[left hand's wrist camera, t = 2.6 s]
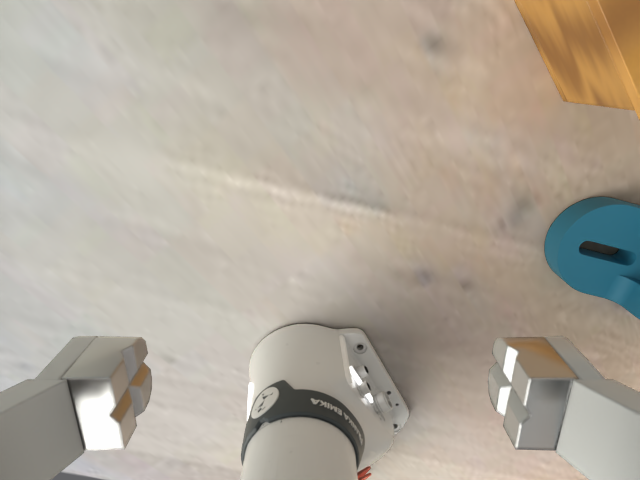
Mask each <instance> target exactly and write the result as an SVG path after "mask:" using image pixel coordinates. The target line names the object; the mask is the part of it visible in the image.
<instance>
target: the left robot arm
mask: <svg viewBox="0 0 640 480" xmlns="http://www.w3.org/2000/svg"><path fill="white" fill-rule="evenodd" d="M359 344H361V345H363V346H361V347H358V346H357V345H359ZM147 354H148V351H147V346H146V341H145V340H144V339H143V338H142V337H108V336H100V337H98V336H78V337H74V338H72V339H71V340H70V342H69V343H68V344H67V345H66V346H65V347H64V348H63V349H62V350H61V351H60V352H59V353H58V354H57V356H56V357H55V358H54V359H53V360H52V361H51V362H50V363H49V364H48V365H47V366H46V367H45V368H44V370H43V371H42V372H41V373H40V374H39V375H38V376H37V377H36V378H35V379H27V380H25V381H23V382H21V383H19V384H17V385H15V386H12V387H10V388H8V389H6V390H4V391H2V392H0V480H51V479H52V478H54V477H55V476H56V475H57V474H59V473H60V472H61V471H62V470H63V469H65V468H66V467H67V466H68V465H70V464H71V463H72V462H73V461H75V460H76V459H77V458H78V457H79V456H81V455H82V454H83V453H84V450H118V449H125V448H126V446H127V444H128V442H129V440H130V438H131V436H132V434H133V432H134V430H135V428H136V426H137V424H136V418H135V417H136V416H138V415H139V414H141V413H142V412H144V411H145V409H146V407H147V404H148V402H149V399H150V395H151V390H152V376H151V369H150V368H149V367H148V366H147V365H146V364H145V363H144V362H143V361H144V359H145V357H146V356H147ZM492 354H493V356H494V357H495V359H496V361H497V362H496V363H495V364H494V365H493V366H492V367H491V368H490V369H489V377H488V388H489V396H490V399H491V402H492V405H493V407H494V409H495V411H496V412H498V413H499V414H501V415H502V416H504V417H505V419H504V424H503V426H504V428H505V430H506V432H507V434H508V436H509V438H510V440H511V442H512V444H513V446H514V447H515V449H520V450H556V453H557V454H558V455H560V456H561V457H562V458H563V459H564V460H566V461H567V462H568V463H569V464H571V465H572V466H573V467H574V468H575V469H577V470H578V471H579V472H580V473H582V474H583V475H584V476H585V477H586V478H588V479H589V480H640V392H638V391H636V390H634V389H632V388H630V387H628V386H625V385H623V384H621V383H619V382H617V381H615V380H613V379H605V378H604V377H603V376H602V375H601V374H600V373H599V372H598V371H597V370H596V368H595V367H594V366H593V365H592V364H591V363H590V362H589V361H588V360H587V359H586V358H585V357H584V355H583V354H582V353H581V352H580V351H579V350H578V349H577V348H576V347H575V346H574V345H573V344H572V343H571V341H570V340H569V339H568V338H566V337H563V336H545V337H514V338H496V340H495V342H494V345H493V351H492ZM249 377H250V383H249V392H248V413H247V424H246V428H245V433H244V439H243V444H242V452H241V460H242V465H243V467H242V472H241V477H240V480H365V479H367V478H368V477H369V476H371V473H368V474H366V473H367V472H368V471H369V470H370V468H371V467H370V466H371V465H372V464H374V463H375V462H376V461H378V460H379V459H380V458H381V457H383V456H384V455H385V454H386V453H387V451H388V450H389V449H390V447H391V446H392V444H393V441H394V437H395V435H396V434H397V433H398V432H399V431H400V430H401V429H402V427H403V426H404V425H405V423H406V421H407V419H408V417H409V409H408V407H407V405H406V403H405V401H404V399H403V398H402V396H401V394H400V393H399V391H398V389H397V387H396V386H395V384H394V382H393V381H392V379H391V377H390V376H389V374H388V372H387V370H386V369H385V367H384V365H383V364H382V362H381V360H380V358H379V357H378V355H377V353H376V352H375V350H374V348H373V346H372V345H371V343H370V341H369V340H368V338H367V336H366V334H365V333H364V332H363V331H362V330H361V329H358V328H345V329H332V328H328V327H324V326H320V325H314V324H296V325H290V326H286V327H283V328H280V329H278V330H276V331H274V332H272V333H271V334H269V335H268V336H266V337H265V338H264V339H263V340H262V341H261V342H260V343H259V344H258V345H257V347H256V348H255V350H254V352H253V354H252V356H251V359H250V364H249ZM393 424H395V425H393ZM365 474H366V475H365Z"/></svg>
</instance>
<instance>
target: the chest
mask: <svg viewBox="0 0 640 480" xmlns="http://www.w3.org/2000/svg"><path fill="white" fill-rule="evenodd" d="M514 1H515V3H516V5H517V7H518V9H519V11H520V13H521V15H522V17H523V19H524V21H525V23H526V25H527V27H528V29H529V31H530V34H531V36H532V38H533V40H534V42H535V44H536V46H537V48H538V50H539V52H540V54H541V56H542V58H543V60H544V62H545V64H546V66H547V68H548V70H549V73H550V75H551V77H552V79H553V81H554V83H555V85H556V87H557V89H558V91H559V93H560V95H561V97H562V99H563V101H565V102H573V103H581V104H589V105H596V106H604V107H612V108H619V109H627V110H635V109H634V107H633V104H632V102H631V100H630V97H629V95H628V93H627V91H626V88H625V86H624V84H623V81H622V79H621V77H620V74H619V72H618V70H617V68H616V65H615V63H614V61H613V58H612V56H611V54H610V52H609V49H608V47H607V45H606V42H605V40H604V38H603V36H602V33H601V31H600V29H599V26H598V24H597V22H596V19H595V17H594V15H593V13H592V10H591V8H590V6H589V3H588V1H587V0H514Z"/></svg>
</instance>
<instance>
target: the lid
mask: <svg viewBox="0 0 640 480" xmlns="http://www.w3.org/2000/svg"><path fill="white" fill-rule="evenodd" d="M587 1H588V3H589V6H590V8H591V10H592V13H593V15H594V17H595V19H596V22H597V24H598V26H599V29H600V31H601V33H602V36H603V38H604V40H605V42H606V45H607V47H608V49H609V52H610V54H611V56H612V58H613V61H614V63H615V65H616V68H617V70H618V72H619V74H620V77H621V79H622V81H623V84H624V86H625V88H626V91H627V93H628V95H629V97H630V100H631V102H632V104H633V107H634V109H635V111H636V113H637V116H638V118H639V120H640V0H587Z"/></svg>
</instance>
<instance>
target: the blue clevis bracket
mask: <svg viewBox="0 0 640 480" xmlns="http://www.w3.org/2000/svg"><path fill="white" fill-rule="evenodd" d="M585 241H592V242H596V243H600V244H604V245H608V246H612V247H616V248H619V250H618V252H617V253H616V254H614V255H607V254H603V253H599V252H595V251H591V250H587V249H583V248H579V246H580V245H581V244H582V243H583V242H585ZM545 256H546V260H547V262H548V264H549V266H550V268H551V269H552V270H553V271H554V272H555V273H556V274H557V275H558V276H559V277H560V278H561V279H563V280H564V281H565V282H566V283H567V284H568V285H570V286H571V287H572V288H574V289H575V290H577V291H580V292H582V293H586V294H590V295H594V296H598V297H602V298H606V299H609V300H611V301H614V302H616V303H618V304H619V305H621V306H623V307H624V308H625V309H626V310H628V311H629V312H630V313H632V314H633V315H634V316H636V317H637V318H638V319H640V205H637V204H633V203H629V202H626V201H622V200H618V199H614V198H610V197H593V198H589V199H585V200H582V201H580V202H577V203H575V204H574V205H572V206H570V207H569V208H567V209H566V210H565V211H563V212H562V213H561V214H560V215H559V216H558V217H557V218H556V219H555V221H554V222H553V224H552V225H551V227H550V228H549V230H548V233H547V236H546V240H545Z"/></svg>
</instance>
